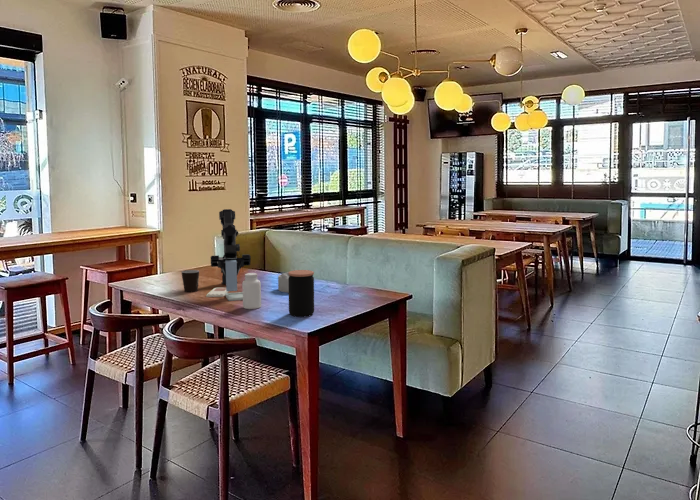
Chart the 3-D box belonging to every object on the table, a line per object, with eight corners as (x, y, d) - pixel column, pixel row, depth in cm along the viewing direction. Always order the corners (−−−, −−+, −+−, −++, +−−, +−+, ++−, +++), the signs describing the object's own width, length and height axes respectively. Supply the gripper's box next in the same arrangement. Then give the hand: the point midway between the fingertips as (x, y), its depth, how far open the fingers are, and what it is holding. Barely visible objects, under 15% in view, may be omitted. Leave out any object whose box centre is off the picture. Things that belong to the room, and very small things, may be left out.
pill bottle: (243, 305, 250) (243, 272, 248) (261, 304, 251) (261, 272, 248) (241, 309, 242) (241, 275, 240) (260, 309, 243) (259, 275, 241)
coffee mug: (195, 293, 274) (194, 273, 273) (178, 292, 276) (178, 272, 275) (205, 288, 286) (204, 269, 284) (190, 287, 287) (189, 268, 286)
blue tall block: (226, 289, 266) (225, 260, 264) (236, 288, 267) (236, 260, 266) (226, 291, 262) (225, 262, 260) (237, 290, 263) (236, 261, 261)
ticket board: (214, 289, 283) (214, 287, 283) (230, 289, 283) (230, 287, 282) (206, 296, 266) (206, 294, 266) (223, 296, 266) (222, 294, 266)
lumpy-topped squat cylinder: (291, 293, 274) (291, 276, 273) (273, 290, 282) (272, 273, 281) (306, 290, 282) (305, 273, 281) (287, 286, 290) (287, 270, 289)
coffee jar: (299, 309, 242) (299, 269, 240) (319, 313, 236) (319, 271, 234) (283, 314, 234) (282, 272, 231) (303, 318, 228) (302, 275, 225)
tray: (225, 295, 269) (225, 293, 269) (249, 294, 273) (249, 291, 273) (228, 300, 258) (228, 298, 258) (253, 299, 262) (253, 296, 262)
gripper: (209, 238, 263) (210, 265, 254) (249, 237, 267) (252, 264, 258) (210, 253, 271) (211, 279, 262) (249, 251, 276) (251, 277, 267)
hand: (231, 274), depth 262 cm, fingers closed on blue tall block, 5 cm apart
